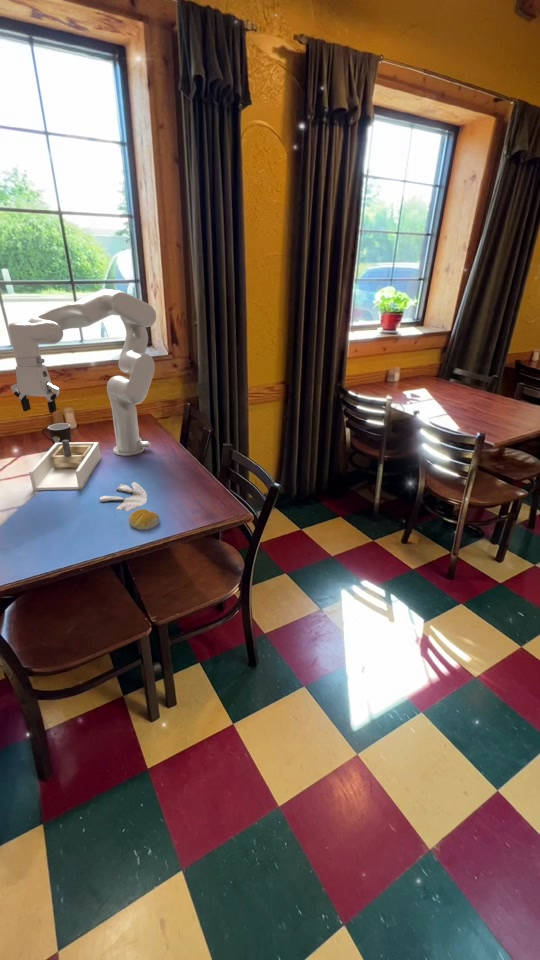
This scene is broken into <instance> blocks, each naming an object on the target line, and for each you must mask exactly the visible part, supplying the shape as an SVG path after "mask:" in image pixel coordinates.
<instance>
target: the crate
mask: <svg viewBox="0 0 540 960" xmlns="http://www.w3.org/2000/svg"><path fill="white" fill-rule="evenodd" d="M62 445H63V446H60V447H59V448H58V449H57V450H56V451H55V453H54V454H53V455H52V456H51V459H52V464H53V469H76V468H78V467H79V465H80V464H81V463H82V461H83V460H84V458H85V457H86V455H87V454H88V452H89V451H90V449H91V448H92V445H90V446H70V444H69V440H63V441H62Z"/></svg>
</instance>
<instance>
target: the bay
mask: <svg viewBox="0 0 540 960" xmlns="http://www.w3.org/2000/svg"><path fill="white" fill-rule="evenodd" d="M69 444H70V446H90V445H92V448H91V449H90V451H89V452H88V454H87V455H86V457H85V458H84V460H83V461H82V463H81V464H80V465H79V467H78V468H76V469H53V464H52V459H51V456H52V455H53V454H54V453H55V451H56V450H57V449H58V448H59V447H60V446H63V445H62V443H55V444H54V445H53V444H52V446H51V447H50V448H49V449H48V451H47V452H45V454H44V455H43V456H42V457H41V458H40V459H39V461H38V462H37V463H36V464H34V466H33V467H32V468H31V470H29V472H28V473H29V478H30V481H31V487H32V491H65V490H67V491H70V490H73V491H74V490H83V488H84V487H85V485H86V484H87V482H88V481H89V479H90V477H91V476H92V474H93V472H94V470H95V469H96V468H97V466H98V464H99V462H100V461H101V459H102V456H101V455H102V454H101V451H100V449H101V448H100V443H99V441H98V442H97V441H96V442H95V441H94V442H93V441H92V442H91V441H90V442H89V441H88V442H87V441H86V442H83V441H82V442H80V441H79V442H77V441H75V442H72V441H71V443H69Z"/></svg>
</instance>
